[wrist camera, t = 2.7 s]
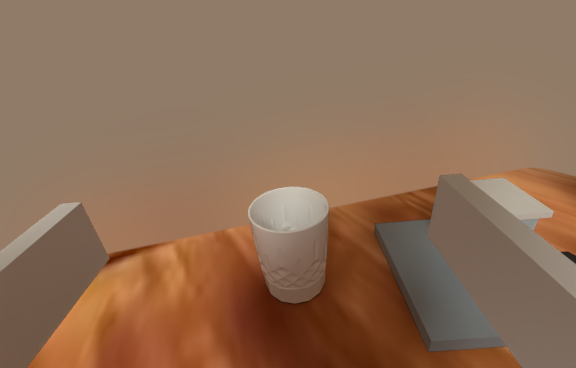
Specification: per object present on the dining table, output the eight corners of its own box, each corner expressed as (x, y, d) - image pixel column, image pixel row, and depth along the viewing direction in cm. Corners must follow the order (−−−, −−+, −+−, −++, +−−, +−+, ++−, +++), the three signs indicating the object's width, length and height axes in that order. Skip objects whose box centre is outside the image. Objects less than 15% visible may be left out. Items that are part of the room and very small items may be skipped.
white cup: (281, 248, 37) (273, 181, 32) (339, 265, 33) (340, 193, 28) (247, 294, 31) (231, 220, 26) (314, 320, 27) (309, 241, 22)
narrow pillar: (494, 223, 37) (517, 154, 33) (620, 338, 23) (694, 248, 19) (374, 232, 38) (379, 165, 33) (428, 351, 24) (451, 266, 19)
